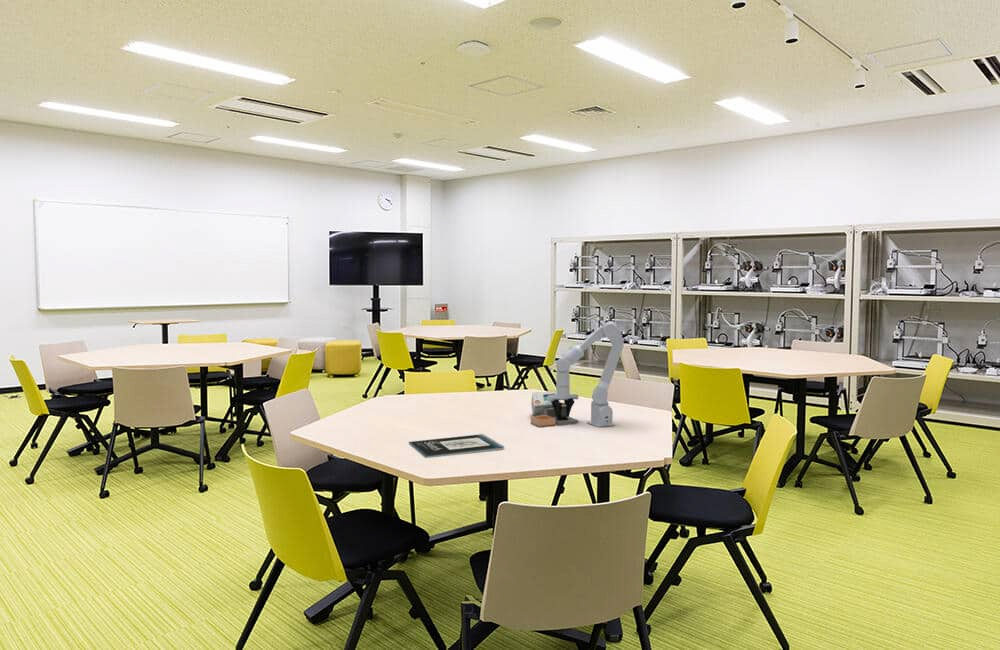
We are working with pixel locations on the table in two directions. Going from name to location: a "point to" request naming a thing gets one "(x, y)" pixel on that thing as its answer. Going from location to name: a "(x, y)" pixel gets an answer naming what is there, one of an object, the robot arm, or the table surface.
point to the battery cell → (563, 412)
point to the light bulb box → (541, 402)
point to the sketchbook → (456, 445)
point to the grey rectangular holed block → (552, 414)
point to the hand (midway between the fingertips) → (562, 416)
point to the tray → (543, 421)
